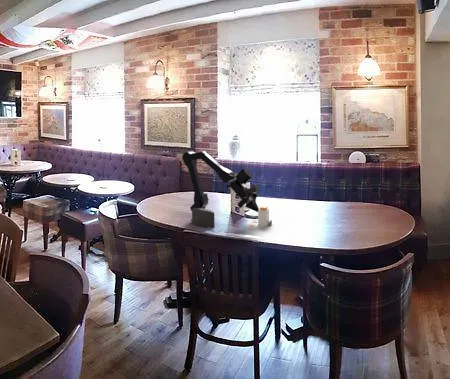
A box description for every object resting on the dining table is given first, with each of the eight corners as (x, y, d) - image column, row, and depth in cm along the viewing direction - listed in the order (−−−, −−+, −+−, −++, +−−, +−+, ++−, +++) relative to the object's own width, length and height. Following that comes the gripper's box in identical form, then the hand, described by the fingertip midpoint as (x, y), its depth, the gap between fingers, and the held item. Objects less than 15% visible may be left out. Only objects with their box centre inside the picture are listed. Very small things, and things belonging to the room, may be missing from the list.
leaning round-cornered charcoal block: (218, 228, 212) (218, 210, 210) (212, 230, 208) (212, 212, 207) (197, 223, 223) (197, 206, 221) (191, 225, 219) (191, 208, 218)
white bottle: (258, 225, 212) (258, 207, 210) (260, 223, 216) (261, 205, 214) (266, 226, 210) (266, 208, 208) (268, 223, 214) (269, 206, 213)
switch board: (239, 227, 213) (239, 220, 212) (246, 222, 223) (246, 216, 222) (267, 230, 207) (267, 223, 206) (273, 225, 217) (273, 218, 216)
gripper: (243, 182, 204) (264, 205, 201) (255, 177, 220) (274, 198, 218) (229, 196, 208) (249, 219, 206) (242, 190, 225) (260, 211, 223)
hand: (259, 211), depth 213 cm, fingers closed, pressing on white bottle
